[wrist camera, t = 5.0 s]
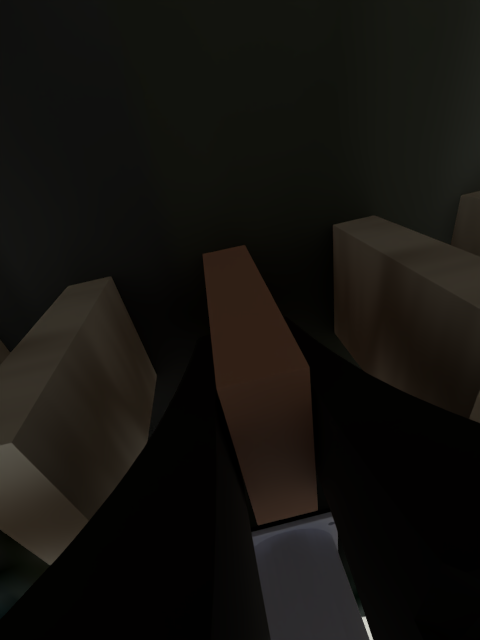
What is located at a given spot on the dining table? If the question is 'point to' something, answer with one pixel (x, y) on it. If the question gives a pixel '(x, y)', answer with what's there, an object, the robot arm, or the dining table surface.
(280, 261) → the dining table surface
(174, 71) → the dining table surface
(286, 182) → the dining table surface
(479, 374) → the domino
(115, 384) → the domino
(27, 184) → the dining table surface
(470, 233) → the domino
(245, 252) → the terracotta domino
